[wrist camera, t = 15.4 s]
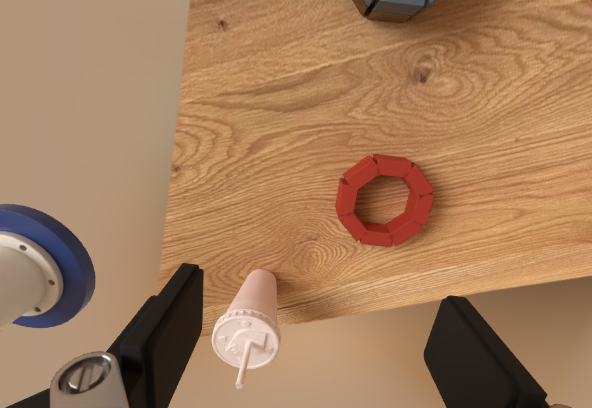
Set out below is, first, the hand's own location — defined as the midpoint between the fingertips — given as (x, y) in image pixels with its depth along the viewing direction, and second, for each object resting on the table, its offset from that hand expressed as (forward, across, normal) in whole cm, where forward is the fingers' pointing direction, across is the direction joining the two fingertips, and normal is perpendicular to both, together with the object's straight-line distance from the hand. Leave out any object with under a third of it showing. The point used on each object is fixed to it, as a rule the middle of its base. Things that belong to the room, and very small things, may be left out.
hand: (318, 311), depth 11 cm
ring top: (+21, -8, +1) cm, 22 cm away
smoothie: (+21, +4, +14) cm, 26 cm away
